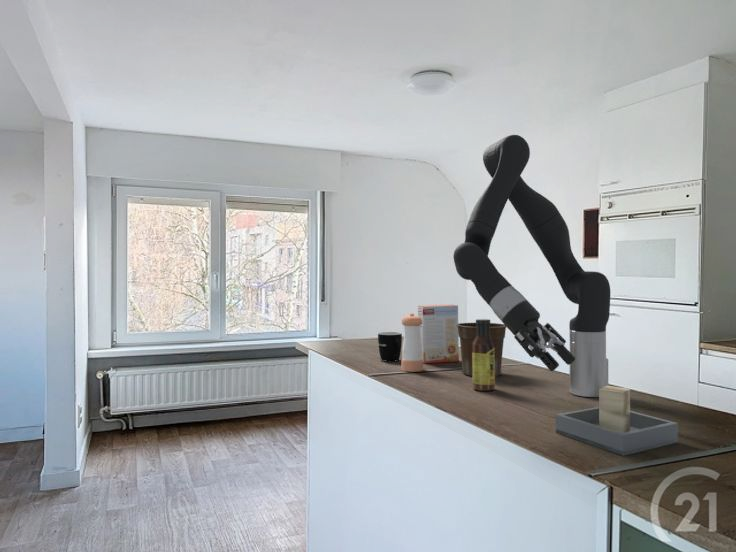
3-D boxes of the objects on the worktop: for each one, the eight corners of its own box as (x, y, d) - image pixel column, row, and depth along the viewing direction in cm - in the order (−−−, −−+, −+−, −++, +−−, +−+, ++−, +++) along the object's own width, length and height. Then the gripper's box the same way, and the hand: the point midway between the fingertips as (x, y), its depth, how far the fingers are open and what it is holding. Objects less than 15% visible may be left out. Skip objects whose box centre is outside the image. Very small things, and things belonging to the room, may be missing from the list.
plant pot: (475, 367, 187) (474, 320, 187) (517, 373, 176) (516, 324, 176) (446, 374, 176) (446, 324, 176) (489, 381, 164) (489, 328, 164)
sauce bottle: (495, 392, 150) (495, 320, 149) (472, 391, 151) (472, 320, 150) (494, 387, 156) (494, 318, 156) (472, 386, 157) (472, 318, 157)
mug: (374, 359, 205) (373, 332, 205) (394, 357, 209) (394, 331, 209) (388, 364, 194) (388, 336, 194) (410, 362, 198) (410, 334, 198)
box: (608, 422, 120) (608, 405, 120) (677, 442, 106) (677, 423, 106) (555, 432, 113) (555, 414, 113) (623, 456, 99) (623, 435, 98)
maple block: (607, 428, 112) (606, 385, 112) (630, 433, 109) (629, 388, 109) (599, 433, 109) (599, 389, 109) (622, 438, 106) (622, 392, 106)
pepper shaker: (422, 372, 179) (422, 314, 179) (400, 371, 181) (400, 314, 180) (423, 368, 187) (423, 312, 186) (402, 367, 188) (402, 312, 187)
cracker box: (452, 359, 204) (452, 303, 204) (459, 361, 198) (459, 305, 198) (417, 361, 200) (417, 304, 200) (423, 363, 195) (423, 305, 194)
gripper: (509, 301, 117) (562, 359, 109) (538, 297, 127) (589, 349, 120) (488, 324, 121) (538, 382, 113) (518, 318, 131) (566, 370, 124)
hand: (564, 365), depth 116 cm, fingers open, 8 cm apart
